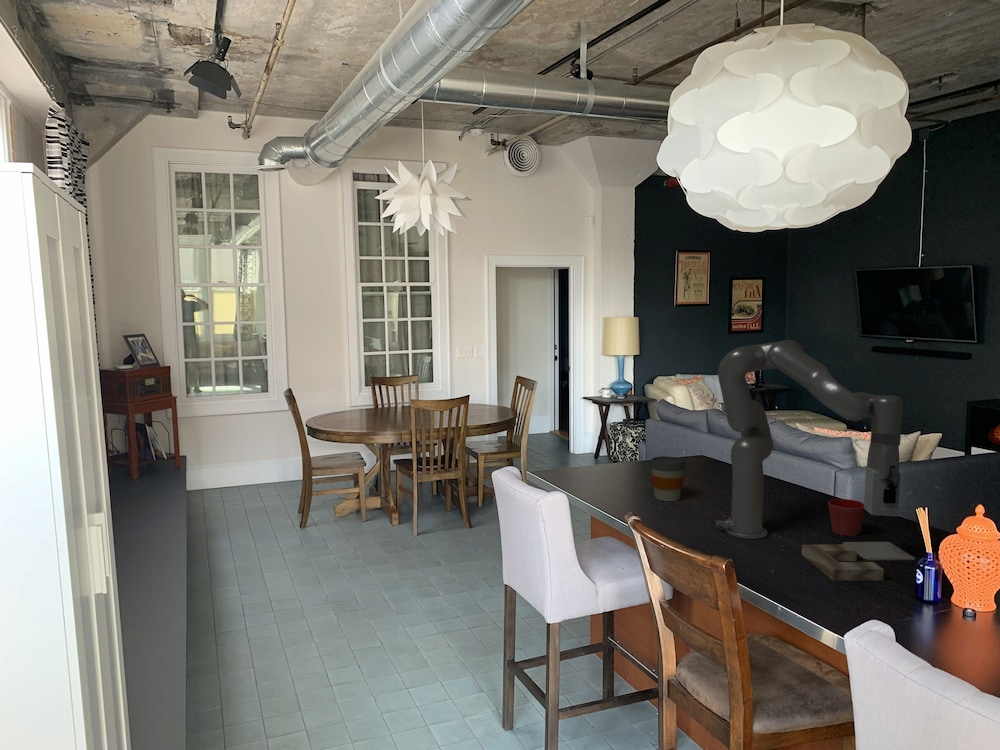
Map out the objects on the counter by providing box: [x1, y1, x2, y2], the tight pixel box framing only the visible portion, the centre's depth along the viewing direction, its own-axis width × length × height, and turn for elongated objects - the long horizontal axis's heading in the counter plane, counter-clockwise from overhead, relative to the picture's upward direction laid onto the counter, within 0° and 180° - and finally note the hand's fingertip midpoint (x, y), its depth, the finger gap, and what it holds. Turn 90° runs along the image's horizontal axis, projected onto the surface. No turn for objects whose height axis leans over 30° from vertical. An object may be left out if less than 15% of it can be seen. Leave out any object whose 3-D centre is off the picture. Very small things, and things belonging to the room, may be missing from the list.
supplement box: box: [863, 466, 902, 517], centre depth 210 cm, size 7×7×13 cm
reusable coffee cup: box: [650, 455, 686, 502], centre depth 275 cm, size 13×13×15 cm
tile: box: [842, 541, 916, 561], centre depth 217 cm, size 14×14×1 cm
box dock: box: [801, 543, 885, 582], centre depth 205 cm, size 14×20×3 cm
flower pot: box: [827, 498, 866, 537], centre depth 234 cm, size 11×11×10 cm
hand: (881, 498), depth 210 cm, fingers closed on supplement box, 8 cm apart
